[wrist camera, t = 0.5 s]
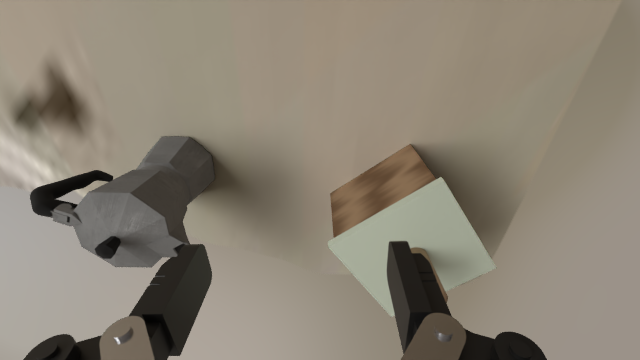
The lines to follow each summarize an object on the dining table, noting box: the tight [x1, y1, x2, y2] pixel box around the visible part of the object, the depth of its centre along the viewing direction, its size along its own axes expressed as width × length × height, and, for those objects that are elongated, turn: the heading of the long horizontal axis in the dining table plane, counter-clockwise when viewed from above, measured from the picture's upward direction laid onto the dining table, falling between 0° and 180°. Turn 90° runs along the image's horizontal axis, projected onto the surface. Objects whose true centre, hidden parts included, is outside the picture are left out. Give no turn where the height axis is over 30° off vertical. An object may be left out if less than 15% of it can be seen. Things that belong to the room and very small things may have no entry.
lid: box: [328, 177, 497, 317], centre depth 33 cm, size 14×14×7 cm
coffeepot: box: [30, 136, 215, 267], centre depth 35 cm, size 15×9×18 cm, turn 66°
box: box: [330, 144, 436, 238], centre depth 41 cm, size 13×13×11 cm
